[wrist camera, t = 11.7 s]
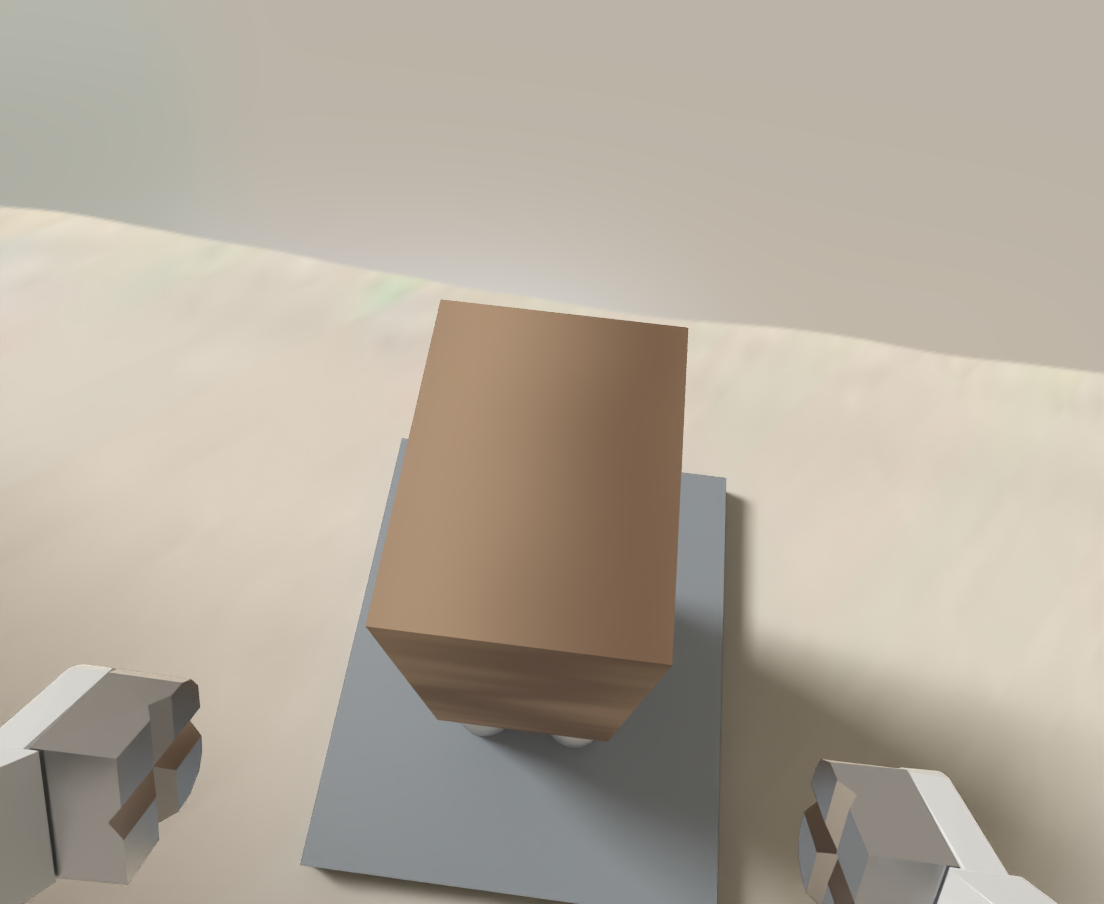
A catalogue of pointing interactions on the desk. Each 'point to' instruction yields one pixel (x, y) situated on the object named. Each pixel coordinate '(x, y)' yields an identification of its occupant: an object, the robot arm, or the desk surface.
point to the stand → (539, 767)
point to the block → (537, 520)
